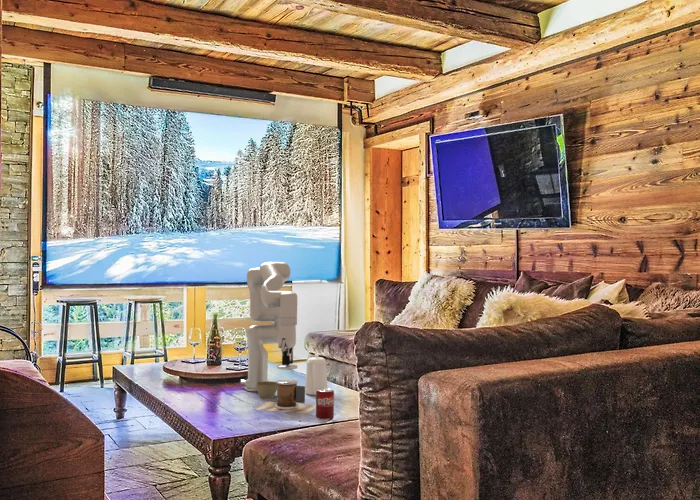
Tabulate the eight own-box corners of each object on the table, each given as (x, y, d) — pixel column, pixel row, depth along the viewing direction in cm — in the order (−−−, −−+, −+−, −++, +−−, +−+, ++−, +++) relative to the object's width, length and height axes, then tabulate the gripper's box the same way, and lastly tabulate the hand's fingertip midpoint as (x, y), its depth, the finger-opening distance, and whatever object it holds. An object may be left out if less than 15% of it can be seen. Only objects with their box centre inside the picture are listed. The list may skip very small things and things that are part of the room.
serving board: (253, 412, 279) (253, 409, 279) (267, 403, 294) (267, 401, 294) (307, 416, 273) (307, 413, 273) (318, 408, 289) (318, 405, 289)
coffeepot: (297, 398, 307) (298, 357, 307) (311, 387, 332) (312, 350, 332) (320, 399, 305) (321, 359, 305) (332, 389, 329) (333, 351, 329)
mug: (271, 409, 280) (271, 383, 280) (279, 403, 290) (280, 379, 290) (300, 411, 277) (301, 385, 277) (307, 406, 287) (308, 380, 287)
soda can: (315, 417, 272) (316, 388, 273) (333, 417, 273) (333, 388, 273) (316, 421, 265) (316, 391, 265) (334, 421, 266) (334, 391, 266)
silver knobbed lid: (274, 368, 281) (274, 354, 281) (281, 365, 289) (281, 351, 289) (293, 370, 279) (293, 355, 279) (300, 366, 287) (300, 352, 287)
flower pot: (281, 397, 308) (281, 382, 308) (271, 401, 299) (272, 386, 299) (262, 395, 312) (262, 380, 312) (252, 400, 302) (252, 384, 302)
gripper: (286, 319, 293) (285, 360, 293) (273, 322, 277) (272, 366, 277) (302, 319, 291) (301, 361, 291) (290, 323, 275) (289, 367, 275)
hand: (287, 363), depth 284 cm, fingers closed on silver knobbed lid, 3 cm apart
